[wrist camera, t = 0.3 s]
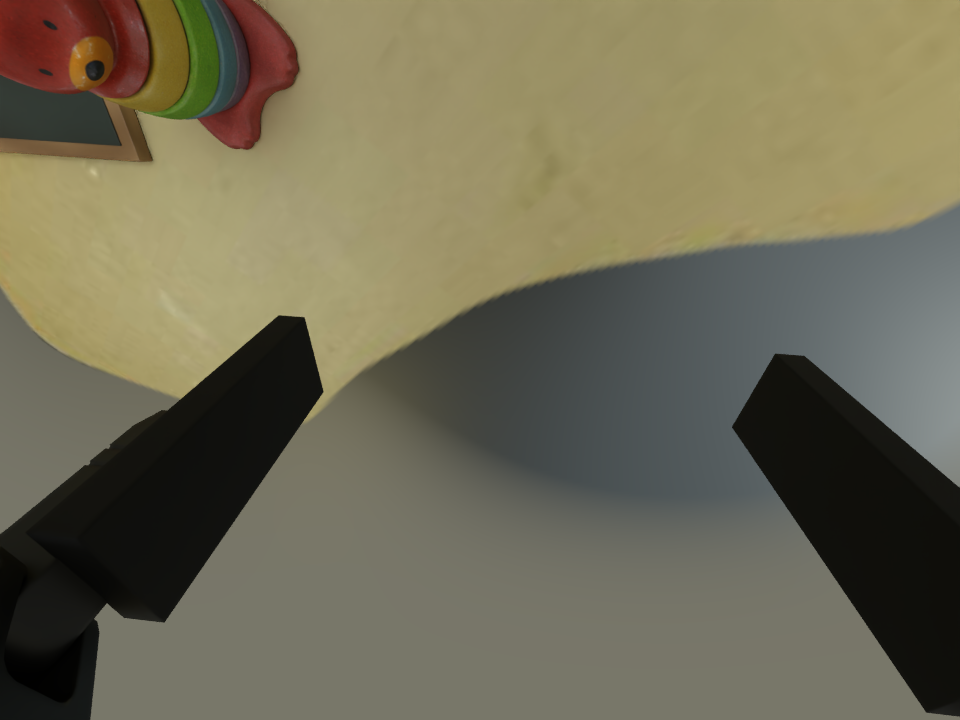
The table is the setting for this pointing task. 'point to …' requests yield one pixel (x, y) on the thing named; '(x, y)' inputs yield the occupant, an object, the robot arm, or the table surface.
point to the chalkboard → (67, 125)
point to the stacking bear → (154, 57)
